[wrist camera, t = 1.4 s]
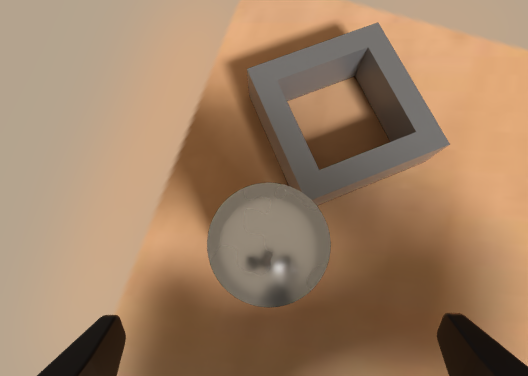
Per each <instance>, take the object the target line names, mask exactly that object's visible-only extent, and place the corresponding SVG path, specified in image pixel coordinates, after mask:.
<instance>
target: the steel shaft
mask: <svg viewBox="0 0 528 376" xmlns="http://www.w3.org/2000/svg"><path fill="white" fill-rule="evenodd" d="M330 247H331V242H330V233H329V229H328V226H327V223H326V220H325V218H324V216H323V214H322V213H321V211H320V210H319V208H318V207H317V205H316V204H315V203H314V202H313V201H312V200H311V199H310V198H309V197H307V196H306V195H305V194H303V193H302V192H300V191H299V190H297V189H295V188H293V187H290V186H287V185H284V184H279V183H259V184H253V185H250V186H247V187H245V188H243V189H241V190H239V191H237V192H235V193H234V194H232V195H231V196H230V197H229V198H228V199H226V201H225V202H224V203H223V204H222V205H221V206H220V208H219V209H218V210H217V212H216V214H215V215H214V217H213V219H212V222H211V225H210V228H209V232H208V239H207V251H208V258H209V261H210V265H211V268H212V270H213V272H214V274H215V276H216V278H217V279H218V281H219V282H220V283H221V285H222V286H223V287H224V288H225V289H226V290H227V291H228V292H229V293H230V294H232V295H233V296H234V297H236V298H237V299H239V300H241V301H243V302H245V303H248V304H251V305H254V306H259V307H279V306H284V305H287V304H290V303H293V302H295V301H297V300H299V299H301V298H302V297H304V296H305V295H307V294H308V293H309V292H310V291H311V290H312V289H313V288H314V287H315V286H316V285H317V283H318V282H319V281H320V279H321V278H322V276H323V274H324V272H325V270H326V268H327V265H328V261H329V257H330Z"/></svg>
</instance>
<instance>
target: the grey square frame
mask: <svg viewBox="0 0 528 376" xmlns="http://www.w3.org/2000/svg"><path fill="white" fill-rule="evenodd" d="M354 76H355V77H356V79H357V81H358V83H359V84H360V86H361V88H362V90H363V92H364V94H365V96H366V97H367V99H368V101H369V103H370V105H371V107H372V108H373V110H374V112H375V114H376V116H377V118H378V120H379V121H380V123H381V125H382V127H383V129H384V131H385V133H386V134H387V136H388V138H389V140H390V142H389V143H387V144H384V145H382V146H379V147H377V148H374V149H372V150H369V151H367V152H364V153H361V154H359V155H356V156H354V157H351V158H349V159H346V160H344V161H341V162H339V163H336V164H334V165H331V166H328V167H326V168H323V169H321V170H319V168H318V166H317V164H316V162H315V160H314V158H313V156H312V154H311V151H310V149H309V147H308V145H307V143H306V141H305V139H304V137H303V134H302V132H301V130H300V128H299V126H298V124H297V122H296V120H295V117H294V115H293V113H292V111H291V109H290V107H289V105H288V103H287V101H289V100H291V99H294V98H297V97H300V96H302V95H305V94H308V93H310V92H313V91H316V90H319V89H321V88H324V87H327V86H329V85H332V84H335V83H337V82H340V81H343V80H346V79H348V78H351V77H354ZM247 77H248V88H249V96H250V99H251V101H252V103H253V105H254V108H255V110H256V112H257V114H258V117H259V119H260V121H261V124H262V126H263V128H264V130H265V133H266V135H267V137H268V139H269V142H270V144H271V146H272V149H273V151H274V153H275V155H276V158H277V160H278V162H279V164H280V167H281V169H282V171H283V174H284V176H285V178H286V180H287V183H288V185H289V186H290V187H293V188H295V189H297V190H299V191H300V192H302V193H303V194H305V195H306V196H307V197H309V198H310V199H311V200H312V201H313V202H314V203H315V204H316V205H320V204H322V203H325V202H327V201H330V200H332V199H334V198H337V197H339V196H342V195H344V194H347V193H349V192H352V191H354V190H357V189H359V188H362V187H364V186H367V185H369V184H371V183H374V182H376V181H379V180H381V179H384V178H386V177H389V176H391V175H394V174H396V173H399V172H401V171H404V170H406V169H408V168H411V167H413V166H416V165H418V164H421V163H423V162H425V161H427V160H428V159H430V158H431V157H432V156H434V155H435V154H437V153H438V152H440V151H441V150H443V149H444V148H445V147H447V146H448V145H450V144H449V142H448V140H447V138H446V137H445V135H444V133H443V132H442V130H441V128H440V127H439V125H438V123H437V121H436V120H435V118H434V116H433V115H432V113H431V111H430V110H429V108H428V106H427V104H426V103H425V101H424V99H423V98H422V96H421V94H420V93H419V91H418V89H417V88H416V86H415V84H414V82H413V81H412V79H411V77H410V76H409V74H408V72H407V71H406V69H405V67H404V65H403V64H402V62H401V60H400V59H399V57H398V55H397V54H396V52H395V50H394V48H393V47H392V45H391V43H390V42H389V40H388V38H387V37H386V35H385V33H384V31H383V30H382V28H381V26H380V25H379V23H375V24H372V25H369V26H367V27H364V28H361V29H358V30H355V31H352V32H350V33H347V34H344V35H341V36H338V37H335V38H333V39H330V40H327V41H324V42H321V43H319V44H316V45H313V46H310V47H307V48H304V49H302V50H299V51H296V52H293V53H290V54H288V55H285V56H282V57H279V58H276V59H273V60H271V61H268V62H265V63H262V64H259V65H256V66H254V67H251V68H248V69H247Z"/></svg>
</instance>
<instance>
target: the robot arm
mask: <svg viewBox="0 0 528 376" xmlns="http://www.w3.org/2000/svg"><path fill="white" fill-rule="evenodd" d="M437 339H438V343H439V346H440V349H441V352H442V355H443V358H444V361H445V364H446V368H447V371H448V374H449V376H528V366H526V365H525V364H524V363H523V362H521V361H520V360H519V359H518V358H516V357H515V356H514V355H513V354H511V353H510V352H509V351H508V350H506V349H505V348H504V347H503V346H502V345H500V344H499V343H498V342H497V341H495V340H494V339H493V338H492V337H490V336H489V335H488V334H487V333H485V332H484V331H483V330H482V329H480V328H479V327H478V326H477V325H475V324H474V323H473V322H472V321H471V320H469V319H468V318H467V317H466V316H464V315H463V314H460V313H446V314H445V315H444V316H443V318H442V321H441V323H440V326H439V329H438V332H437ZM125 340H126V335H125V331H124V328H123V325H122V322H121V320H120V317H119V316H118V315H105V316H102V317H101V318H99V319H98V320H97V321H96V322H95V323H94V324H93V325H92V326H91V327H89V328H88V329H87V330H86V331H85V332H84V333H83V334H82V335H81V336H80V337H79V338H77V339H76V340H75V341H74V342H73V343H72V344H71V345H70V346H69V347H68V348H67V349H65V350H64V351H63V352H62V353H61V354H60V355H59V356H58V357H57V358H56V359H55V360H54V361H52V362H51V364H49V365H48V366H47V367H46V368H45V369H44V370H43V371H41V373H39V374H38V375H37V376H117V372H118V368H119V364H120V360H121V356H122V353H123V349H124V345H125Z"/></svg>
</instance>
